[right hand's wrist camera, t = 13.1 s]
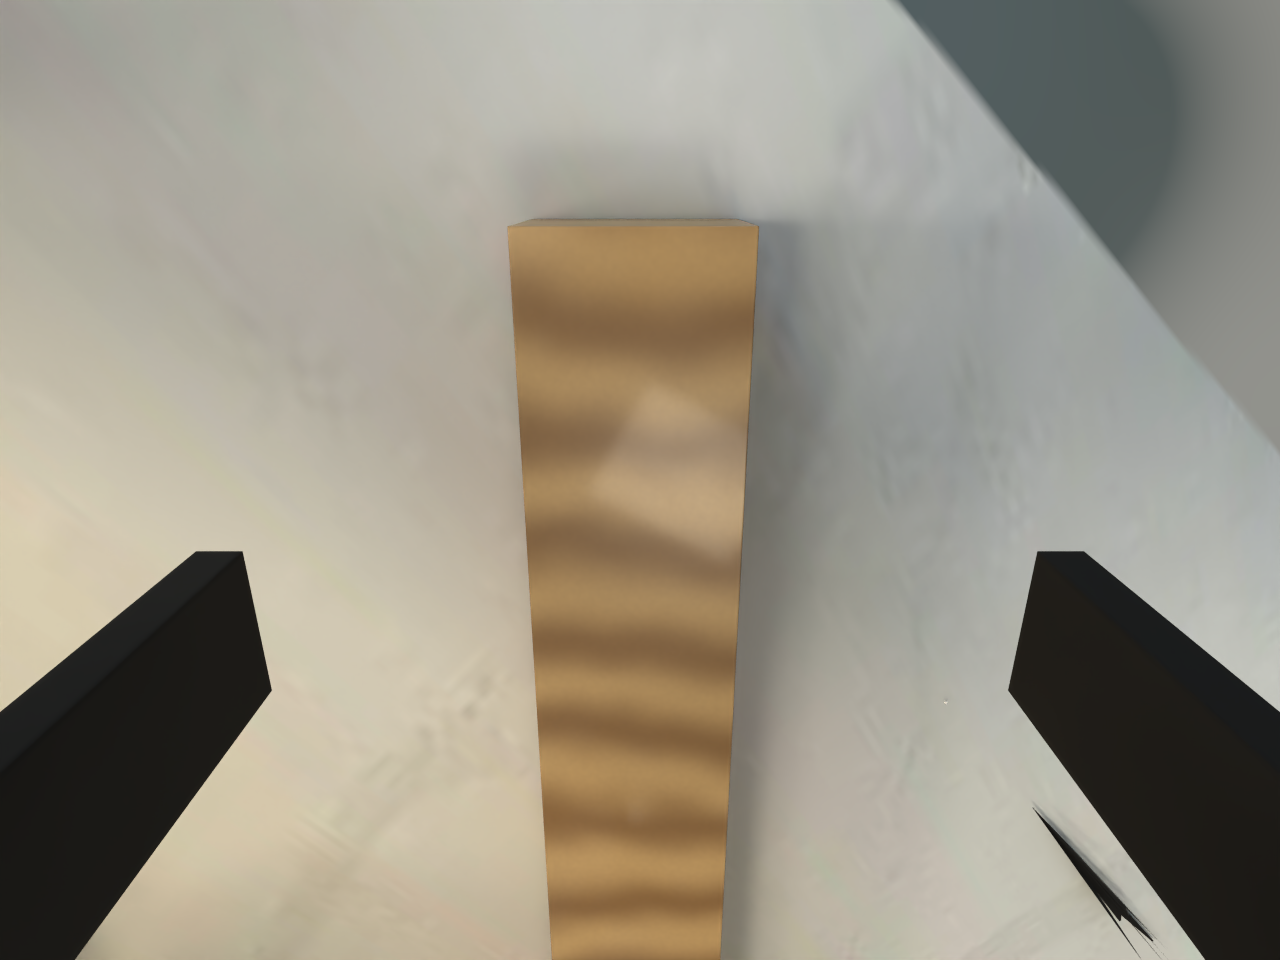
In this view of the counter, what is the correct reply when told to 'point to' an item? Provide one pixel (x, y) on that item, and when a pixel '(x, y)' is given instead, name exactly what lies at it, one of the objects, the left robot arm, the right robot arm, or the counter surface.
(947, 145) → the counter surface
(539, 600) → the long beam
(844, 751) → the counter surface
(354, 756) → the counter surface
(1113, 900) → the feather
